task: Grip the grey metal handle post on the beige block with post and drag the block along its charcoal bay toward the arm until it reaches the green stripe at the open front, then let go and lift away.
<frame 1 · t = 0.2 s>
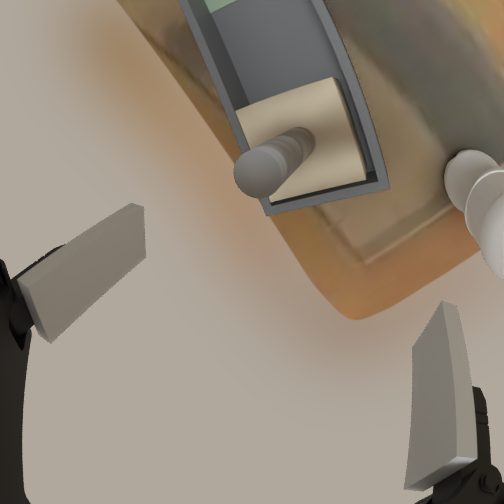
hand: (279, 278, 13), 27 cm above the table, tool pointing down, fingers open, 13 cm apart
water bottle: (466, 174, 30), on the table
bay: (290, 69, 32), on the table
beige block with post: (293, 146, 26), point 11 cm above the table, slide at 0.0 cm
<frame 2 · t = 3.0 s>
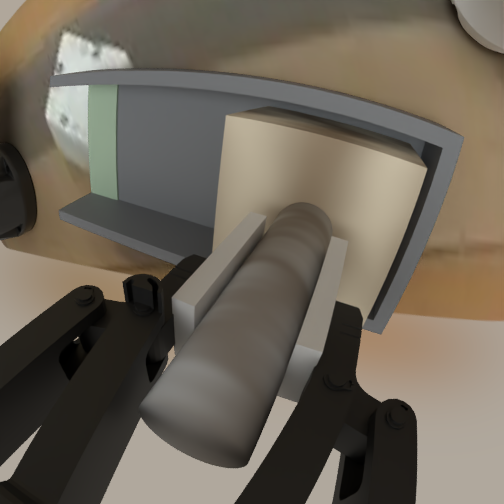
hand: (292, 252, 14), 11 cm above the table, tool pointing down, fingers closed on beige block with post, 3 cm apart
water bottle: (486, 13, 12), on the table
bay: (227, 159, 25), on the table
beige block with post: (292, 252, 14), point 11 cm above the table, slide at 0.0 cm, touching gripper
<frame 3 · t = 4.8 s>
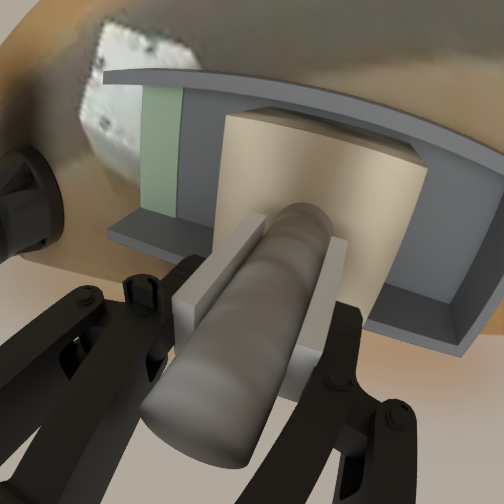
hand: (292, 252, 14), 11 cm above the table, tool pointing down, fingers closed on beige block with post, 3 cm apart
bay: (314, 181, 23), on the table
beige block with post: (292, 253, 14), point 11 cm above the table, slide at 7.1 cm, touching gripper
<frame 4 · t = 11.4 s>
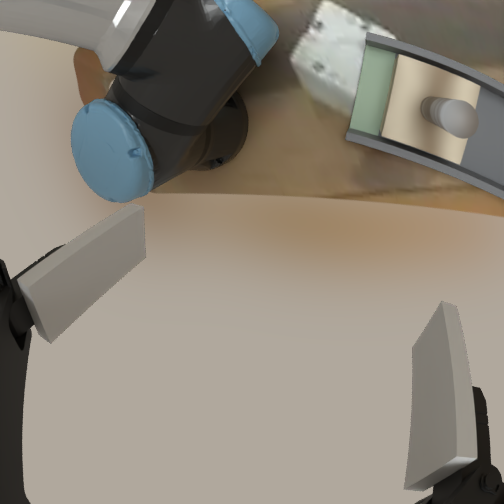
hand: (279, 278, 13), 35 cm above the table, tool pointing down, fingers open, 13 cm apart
bay: (460, 121, 33), on the table
beige block with post: (437, 110, 26), point 11 cm above the table, slide at 14.0 cm, touching bay
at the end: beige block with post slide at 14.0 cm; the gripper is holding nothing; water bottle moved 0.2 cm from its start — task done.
